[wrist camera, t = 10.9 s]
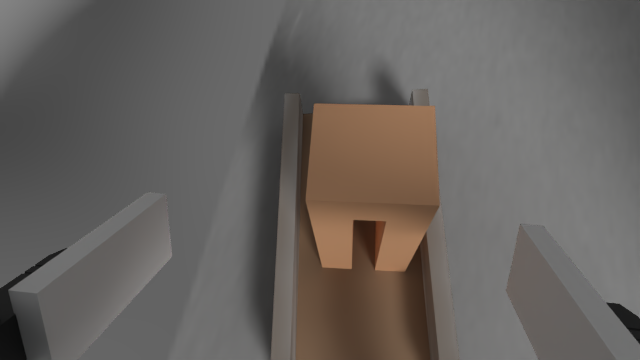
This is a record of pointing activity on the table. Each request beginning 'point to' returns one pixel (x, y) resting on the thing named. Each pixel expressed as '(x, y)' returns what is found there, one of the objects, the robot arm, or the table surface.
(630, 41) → the table surface
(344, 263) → the clip
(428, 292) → the rail
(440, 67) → the table surface
